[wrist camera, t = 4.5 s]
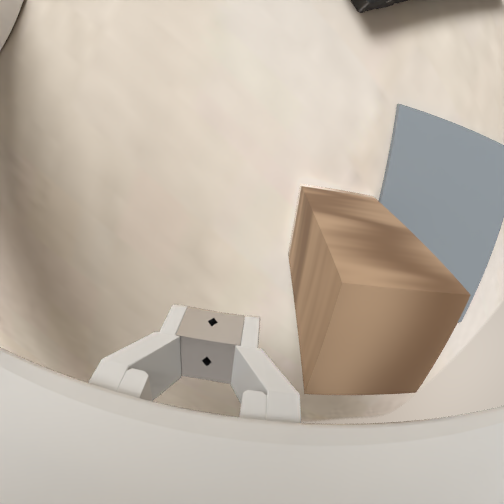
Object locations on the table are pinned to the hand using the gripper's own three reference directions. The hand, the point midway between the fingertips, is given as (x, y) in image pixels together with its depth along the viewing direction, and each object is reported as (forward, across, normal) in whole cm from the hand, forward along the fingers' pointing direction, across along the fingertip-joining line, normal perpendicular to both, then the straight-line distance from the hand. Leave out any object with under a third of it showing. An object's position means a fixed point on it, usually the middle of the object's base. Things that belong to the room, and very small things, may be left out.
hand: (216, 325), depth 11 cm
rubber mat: (+11, -15, -1) cm, 19 cm away
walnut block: (+11, -6, 0) cm, 13 cm away
